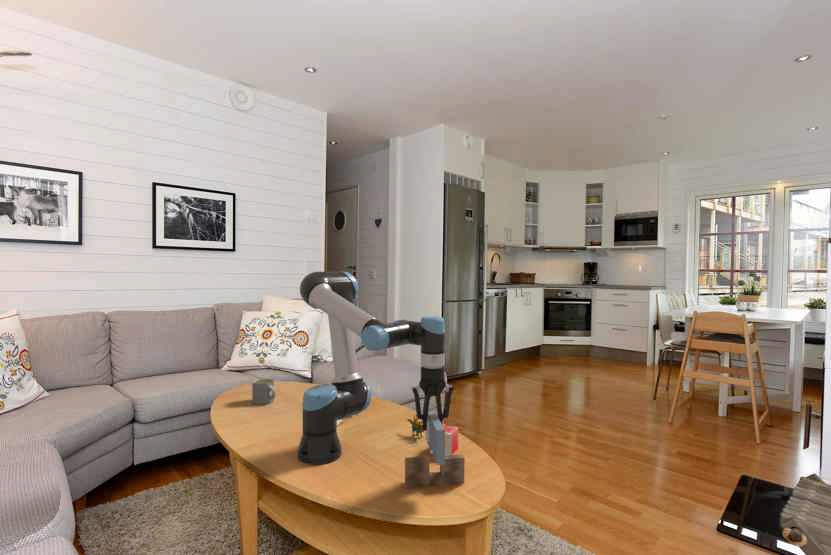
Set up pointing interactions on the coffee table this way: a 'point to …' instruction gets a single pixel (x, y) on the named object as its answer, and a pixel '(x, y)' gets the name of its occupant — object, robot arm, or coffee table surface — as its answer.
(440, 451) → the grey slotted plate
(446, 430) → the red patterned cube
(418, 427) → the figurine
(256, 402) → the coffee mug
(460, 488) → the coffee table surface
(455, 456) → the walnut slotted upright
